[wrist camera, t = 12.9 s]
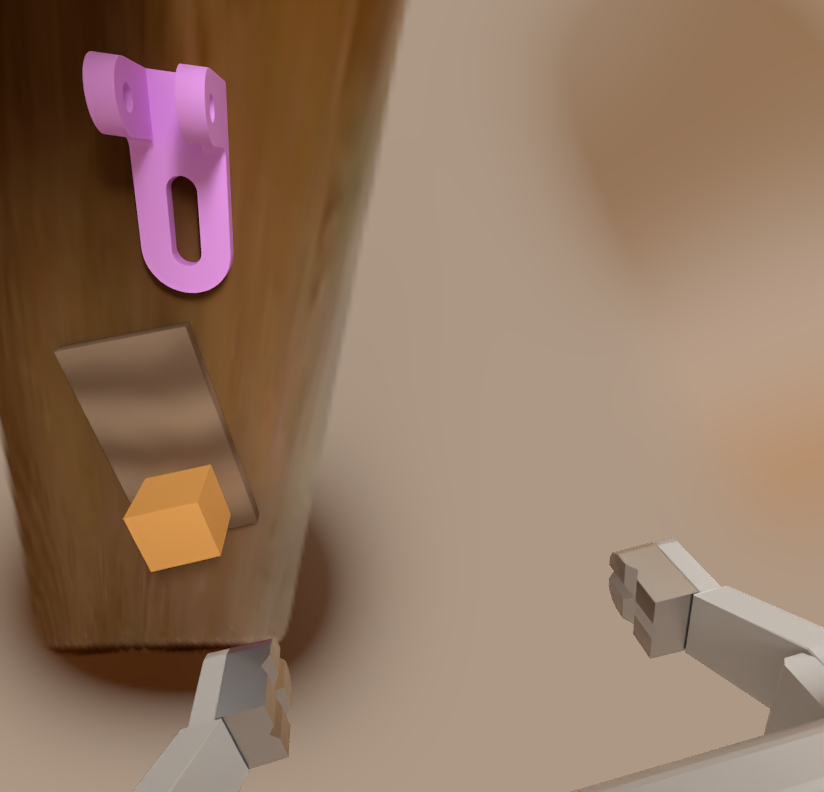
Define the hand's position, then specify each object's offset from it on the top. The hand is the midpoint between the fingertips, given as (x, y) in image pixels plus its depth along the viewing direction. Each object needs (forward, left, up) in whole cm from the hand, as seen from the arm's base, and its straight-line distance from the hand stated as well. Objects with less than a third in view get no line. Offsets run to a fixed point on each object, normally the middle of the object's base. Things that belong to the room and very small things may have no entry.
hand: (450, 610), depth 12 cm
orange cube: (+13, -17, -28) cm, 35 cm away
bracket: (-10, -10, -30) cm, 33 cm away
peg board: (+8, -17, -29) cm, 35 cm away
